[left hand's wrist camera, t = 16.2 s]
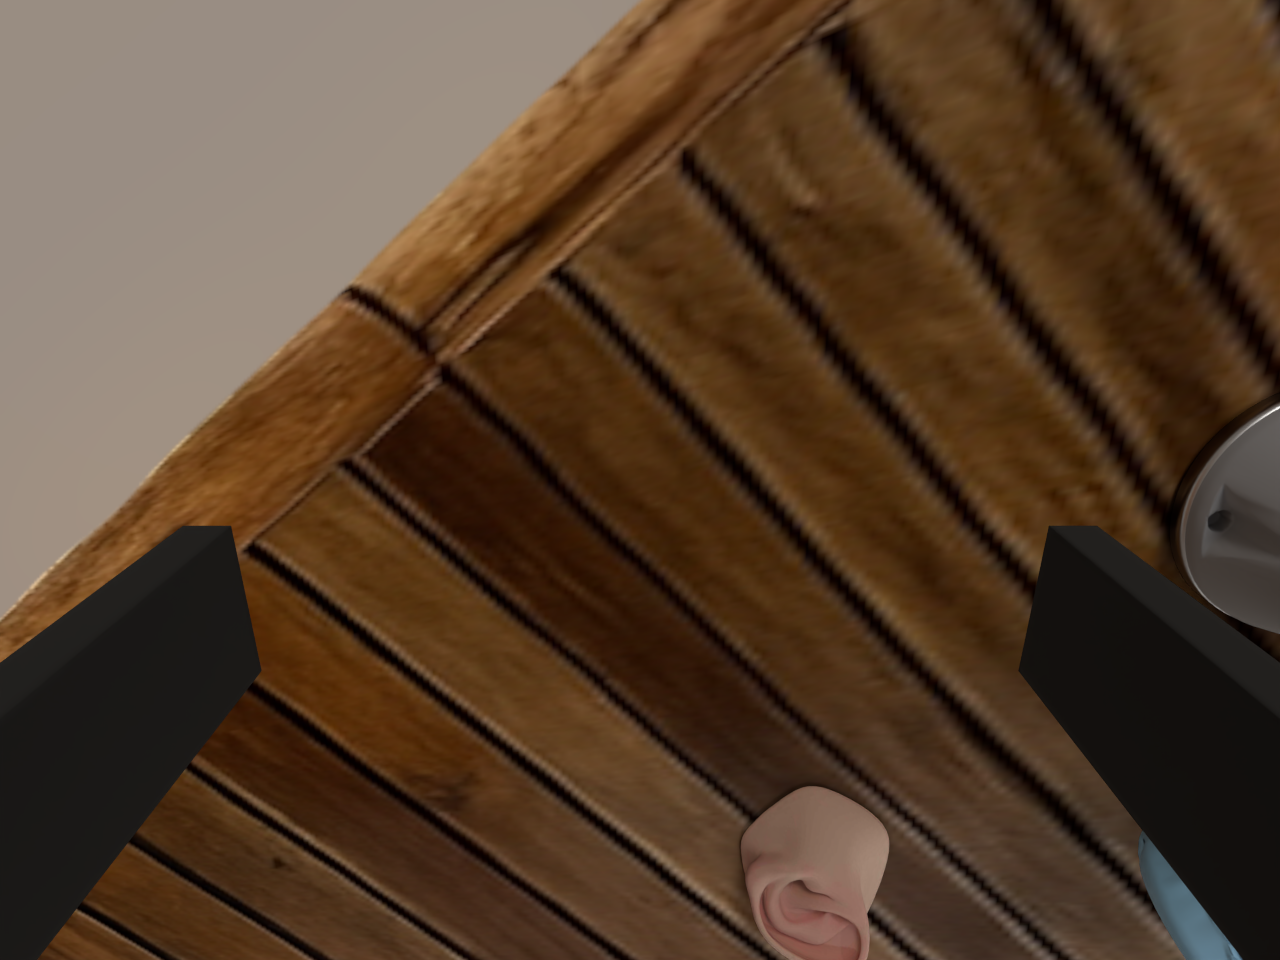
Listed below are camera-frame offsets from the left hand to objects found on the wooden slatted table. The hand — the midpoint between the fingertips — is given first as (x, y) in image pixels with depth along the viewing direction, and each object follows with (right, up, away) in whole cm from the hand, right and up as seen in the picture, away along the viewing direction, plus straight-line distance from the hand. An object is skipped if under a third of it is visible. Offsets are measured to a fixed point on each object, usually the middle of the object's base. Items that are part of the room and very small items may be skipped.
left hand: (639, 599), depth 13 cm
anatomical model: (+13, -26, +44) cm, 52 cm away
